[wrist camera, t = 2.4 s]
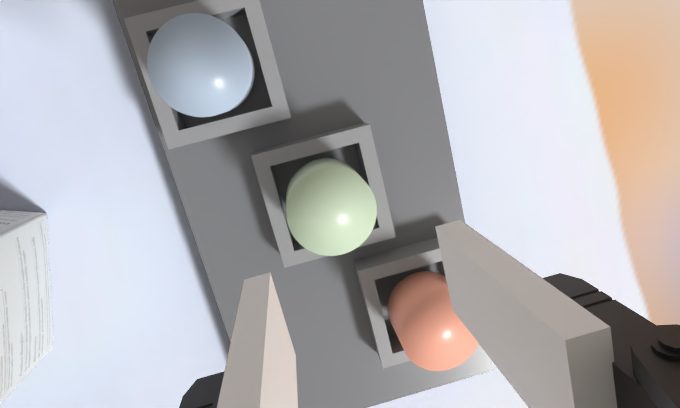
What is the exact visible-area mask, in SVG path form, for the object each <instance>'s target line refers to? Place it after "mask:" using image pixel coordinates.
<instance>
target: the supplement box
mask: <svg viewBox="0 0 680 408" xmlns="http://www.w3.org/2000/svg"><path fill="white" fill-rule="evenodd" d="M53 347H54V343H53V322H52V302H51V283H50V262H49V242H48V220H47V214H46V213H42V212H24V211H8V210H0V404H1V403H2V402H3V401H4V400H5V399H6V398H7V397H8V396H9V395H10V394H11V392H12V391H13V390H14V389H15V388H16V387H17V386H18V385H19V384H20V383H21V382H22V381H23V380H24V379H25V377H26V376H27V375H28V374H29V373H30V372H31V371H32V370H33V369H34V368H35V367H36V366H37V365H38V364H39V362H40V361H41V360H42V359H43V358H44V357H45V356H46V355H47V354H48V353H49V352H50V351H51V350H52V349H53Z"/></svg>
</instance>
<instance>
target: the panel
mask: <svg viewBox="0 0 680 408" xmlns="http://www.w3.org/2000/svg"><path fill="white" fill-rule="evenodd" d="M113 3H114V6H115V9H116V12H117V15H118V18H119V21H120V23H121V26H122V29H123V32H124V35H125V38H126V41H127V44H128V47H129V50H130V53H131V55H132V58H133V61H134V64H135V67H136V70H137V73H138V76H139V79H140V82H141V85H142V87H143V90H144V93H145V96H146V99H147V102H148V105H149V108H150V111H151V114H152V116H153V119H154V122H155V125H156V128H157V131H158V134H159V137H160V140H161V143H162V146H163V148H164V151H165V154H166V157H167V160H168V163H169V166H170V169H171V172H172V175H173V178H174V180H175V183H176V186H177V189H178V192H179V195H180V198H181V201H182V204H183V207H184V209H185V212H186V215H187V218H188V221H189V224H190V227H191V230H192V233H193V236H194V239H195V241H196V244H197V247H198V250H199V253H200V256H201V259H202V262H203V265H204V268H205V271H206V273H207V276H208V279H209V282H210V285H211V288H212V291H213V294H214V297H215V300H216V302H217V305H218V308H219V311H220V314H221V317H222V320H223V323H224V326H225V329H226V332H227V334H228V337H229V340H230V343H231V339H232V334H233V330H234V325H235V320H236V316H237V311H238V306H239V302H240V297H241V292H242V288H243V283H244V279H248V278H252V277H255V276H259V275H262V274H266V273H271V276H272V280H273V283H274V286H275V289H276V293H277V296H278V299H279V302H280V306H281V309H282V312H283V315H284V319H285V322H286V325H287V328H288V332H289V335H290V338H291V341H292V345H293V348H294V351H295V354H296V374H297V396H298V408H367V407H371V406H374V405H377V404H381V403H384V402H388V401H391V400H394V399H398V398H401V397H404V396H408V395H411V394H415V393H418V392H421V391H425V390H428V389H431V388H435V387H438V386H442V385H445V384H448V383H452V382H455V381H458V380H462V379H465V378H469V377H472V376H475V375H479V374H482V373H485V372H489V371H492V370H493V367H492V362H491V359H490V357H489V356H488V355H487V353H486V352H485V351H484V350H483V348H482V347H481V346H480V344H478V347H477V348H476V350H475V352H474V353H473V354H472V355H471V356H470V357H469V358H468V359H467V360H466V361H465V362H464V363H462V364H461V365H459V366H457V367H455V368H452V369H449V370H445V371H430V370H426V369H423V368H421V367H419V366H417V365H415V364H414V363H413V362H412V361H411V360H410V359H409V358H408V357H407V355H406V354H405V351H404V349H403V347H402V345H401V343H400V341H399V339H398V337H397V334H396V332H395V330H394V328H393V326H392V324H391V322H390V319H389V316H388V311H387V305H388V300H389V296H390V294H391V292H392V290H393V289H394V287H395V286H396V285H397V284H398V283H399V282H400V281H401V280H402V279H403V278H405V277H406V276H408V275H410V274H413V273H416V272H420V271H432V272H436V273H439V274H442V275H443V276H445V271H444V267H443V262H442V257H441V252H440V247H439V243H438V238H437V233H436V228H435V226H439V225H443V224H446V223H450V222H453V221H457V220H461V221H463V222H464V223H465V220H464V215H463V210H462V204H461V199H460V194H459V189H458V183H457V178H456V173H455V168H454V162H453V157H452V152H451V147H450V142H449V136H448V131H447V126H446V121H445V115H444V110H443V105H442V100H441V94H440V89H439V84H438V79H437V73H436V68H435V63H434V58H433V52H432V47H431V42H430V37H429V31H428V26H427V21H426V16H425V10H424V5H423V0H113ZM188 13H202V14H207V15H211V16H214V17H216V18H218V19H220V20H222V21H224V22H225V23H227V24H228V25H229V26H230V27H232V28H233V29H234V30H235V31H236V33H237V34H238V35H239V36H240V37H241V39H242V40H243V41H244V43H245V44H246V46H247V47H248V49H249V51H250V53H251V55H252V58H253V61H254V66H255V78H254V83H253V87H252V89H251V91H250V93H249V95H248V96H247V98H246V99H245V100H244V101H243V102H242V103H241V104H240V105H239V106H238V107H236V108H235V109H233V110H231V111H228V112H225V113H222V114H219V115H215V116H211V117H194V116H189V115H186V114H183V113H181V112H179V111H177V110H175V109H173V108H172V107H170V106H169V105H168V104H167V103H165V102H164V101H163V99H162V98H161V97H160V96H159V95H158V93H157V92H156V90H155V89H154V87H153V85H152V83H151V80H150V77H149V73H148V67H147V55H148V50H149V46H150V43H151V41H152V39H153V37H154V35H155V34H156V32H157V31H158V30H159V28H160V27H161V26H163V25H164V24H165V23H166V22H168V21H169V20H170V19H172V18H174V17H177V16H180V15H183V14H188ZM321 158H332V159H337V160H340V161H342V162H344V163H346V164H348V165H349V166H351V167H352V168H353V169H354V170H355V171H356V172H357V173H358V174H359V175H360V176H361V178H362V179H363V180H364V181H365V182H366V183H367V184H368V185H369V187H370V188H371V190H372V192H373V194H374V197H375V200H376V205H377V216H376V221H375V225H374V227H373V230H372V232H371V233H370V235H369V236H368V238H367V239H366V240H365V241H364V242H363V243H362V244H361V245H360V246H359V247H357V248H356V249H354V250H352V251H350V252H348V253H345V254H342V255H337V256H325V255H319V254H316V253H313V252H311V251H309V250H307V249H306V248H304V247H303V246H302V245H300V244H299V242H298V241H297V240H296V239H295V238H294V236H293V235H292V233H291V231H290V229H289V226H288V222H287V214H286V192H287V187H288V185H289V182H290V180H291V178H292V176H293V175H294V174H295V172H296V171H297V170H298V169H299V168H301V167H302V166H303V165H305V164H306V163H308V162H310V161H313V160H316V159H321ZM445 277H446V276H445Z"/></svg>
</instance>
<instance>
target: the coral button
mask: <svg viewBox="0 0 680 408" xmlns="http://www.w3.org/2000/svg"><path fill="white" fill-rule="evenodd" d="M387 311H388V316H389V319H390V322H391V324H392V326H393V328H394V330H395V332H396V334H397V337H398V339H399V341H400V343H401V345H402V347H403V349H404V351H405V354H406V355H407V357H408V358H409V359H410V360H411V361H412V362H413V363H414V364H415V365H417V366H419V367H421V368H423V369H426V370H430V371H445V370H449V369H452V368H455V367H457V366H459V365H461V364H462V363H464V362H465V361H466V360H467V359H468V358H469V357H470V356H471V355H472V354H473V353H474V352H475V350H476V348H477V347H478V344H479V343H478V342H477V341H476V339H475V338H474V337H473V335H472V334H471V333H470V332H469V330H468V329H467V328H466V327H465V325H464V324H463V323H462V321H461V320H460V319H459V318H458V316H457V315H456V314H455V312H454V311H453V310H452V305H451V300H450V296H449V291H448V286H447V281H446V277H445V276H443V275H442V274H439V273H436V272H432V271H420V272H416V273H413V274H410V275H408V276H406V277H405V278H403V279H402V280H401V281H400V282H399V283H398V284H397V285H396V286H395V287H394V289H393V290H392V292H391V294H390V296H389V300H388V305H387Z"/></svg>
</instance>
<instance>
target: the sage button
mask: <svg viewBox="0 0 680 408" xmlns="http://www.w3.org/2000/svg"><path fill="white" fill-rule="evenodd" d="M286 214H287V222H288V226H289V229H290V231H291V233H292V235H293V236H294V238H295V239H296V240H297V241H298V242H299V244H300V245H302V246H303V247H304V248H306V249H307V250H309V251H311V252H313V253H316V254H319V255H325V256H337V255H342V254H345V253H348V252H350V251H352V250H354V249H356V248H357V247H359V246H360V245H361V244H362V243H363V242H364V241H365V240H366V239H367V238H368V236H369V235H370V233H371V232H372V230H373V227H374V225H375V221H376V216H377V205H376V200H375V197H374V194H373V192H372V190H371V188H370V187H369V185H368V184H367V183H366V182H365V181H364V180H363V179H362V178H361V176H360V175H359V174H358V173H357V172H356V171H355V170H354V169H353V168H352V167H351V166H349V165H348V164H346V163H344V162H342V161H340V160H337V159H332V158H321V159H316V160H313V161H310V162H308V163H306V164H305V165H303V166H302V167H301V168H299V169H298V170H297V171H296V172H295V174H294V175H293V176H292V178H291V180H290V182H289V185H288V187H287V192H286Z"/></svg>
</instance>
